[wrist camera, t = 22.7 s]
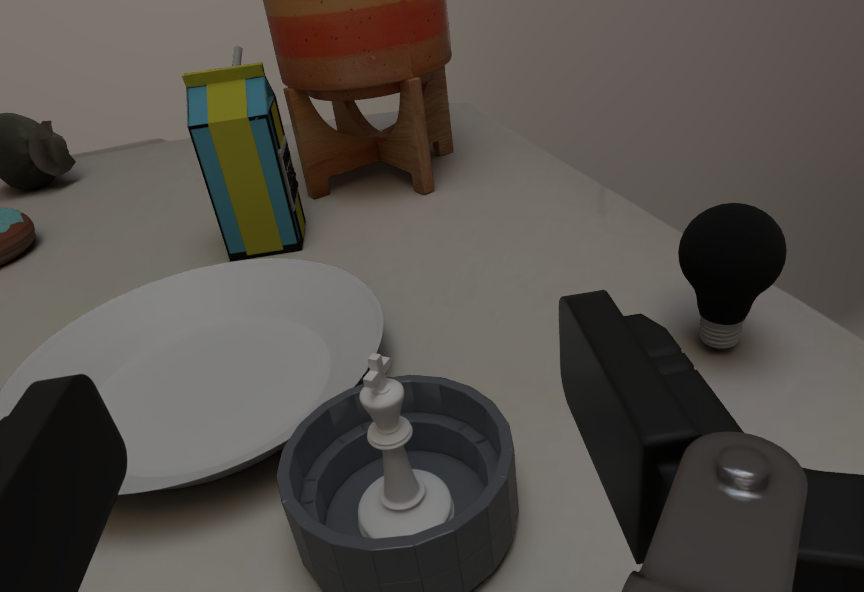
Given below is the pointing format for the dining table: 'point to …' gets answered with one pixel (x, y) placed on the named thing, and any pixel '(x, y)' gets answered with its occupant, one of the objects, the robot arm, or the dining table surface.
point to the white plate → (214, 363)
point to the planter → (364, 82)
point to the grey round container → (363, 464)
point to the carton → (245, 159)
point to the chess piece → (396, 466)
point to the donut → (14, 233)
